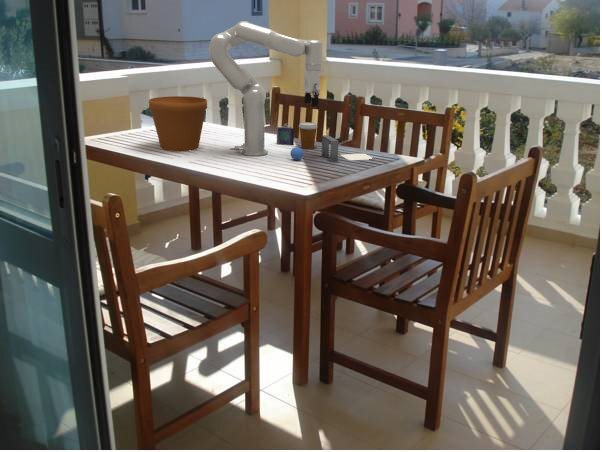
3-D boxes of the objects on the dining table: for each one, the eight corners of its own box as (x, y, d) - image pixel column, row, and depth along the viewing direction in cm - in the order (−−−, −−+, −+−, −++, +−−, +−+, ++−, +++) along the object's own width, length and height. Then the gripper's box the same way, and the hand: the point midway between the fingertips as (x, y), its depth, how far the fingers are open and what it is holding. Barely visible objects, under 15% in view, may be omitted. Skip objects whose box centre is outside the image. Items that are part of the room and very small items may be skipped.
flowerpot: (140, 150, 336) (138, 101, 329) (166, 140, 362) (164, 95, 355) (194, 155, 329) (192, 105, 322) (216, 144, 355) (215, 98, 348)
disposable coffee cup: (315, 149, 347) (315, 125, 343) (296, 148, 349) (296, 124, 345) (318, 146, 356) (319, 122, 352) (300, 145, 357) (300, 121, 354)
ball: (292, 161, 319) (292, 148, 317) (288, 158, 325) (289, 146, 323) (304, 161, 321) (305, 148, 319) (301, 158, 326) (301, 145, 324)
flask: (275, 144, 359) (276, 123, 356) (278, 143, 361) (278, 122, 358) (292, 145, 356) (293, 124, 353) (294, 144, 359) (295, 123, 355)
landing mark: (349, 160, 323) (349, 160, 323) (339, 155, 335) (339, 154, 335) (375, 159, 327) (375, 159, 327) (364, 153, 339) (364, 153, 339)
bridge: (331, 162, 320) (332, 141, 317) (321, 155, 334) (321, 135, 331) (337, 161, 321) (338, 140, 318) (327, 155, 334) (327, 135, 331)
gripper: (299, 65, 327) (297, 102, 333) (311, 69, 312) (309, 107, 317) (314, 66, 330) (312, 102, 335) (327, 69, 314) (325, 107, 320)
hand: (311, 104), depth 326 cm, fingers open, 9 cm apart
